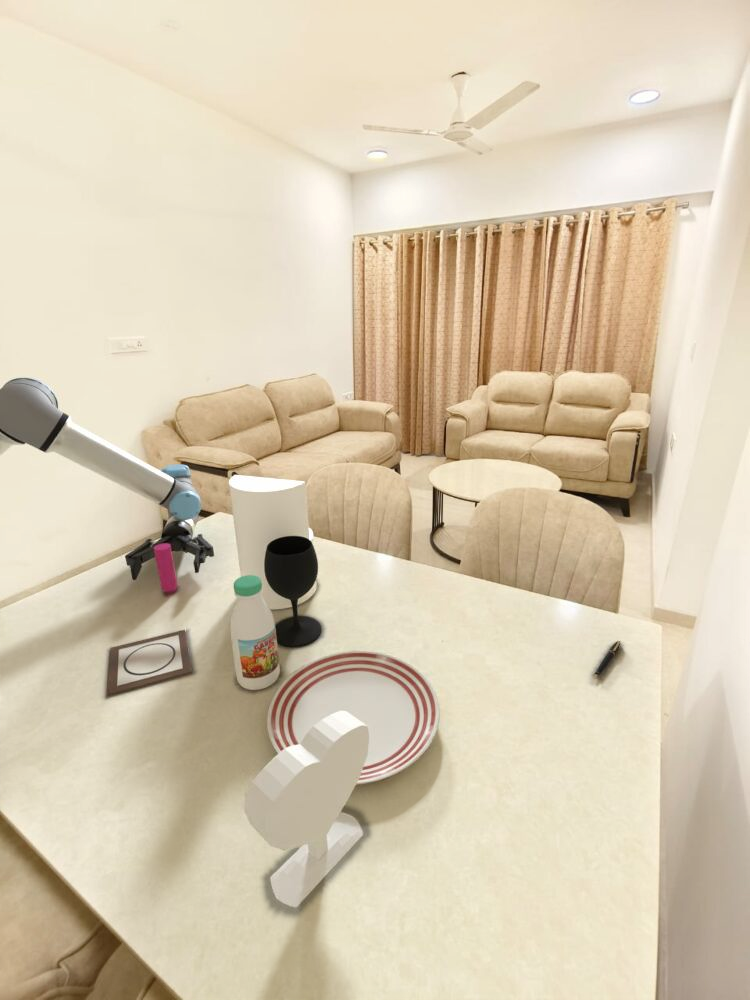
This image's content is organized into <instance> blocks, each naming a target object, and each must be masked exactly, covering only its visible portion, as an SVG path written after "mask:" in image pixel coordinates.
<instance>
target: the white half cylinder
mask: <svg viewBox="0 0 750 1000" xmlns="http://www.w3.org/2000/svg"><path fill="white" fill-rule="evenodd" d="M228 486H229V494H230V502H231V511H232V519H233V526H234V533H235V534H234V535H235V541H236V548H237V550H236V551H237V557H238V566H239V572H240V573H239V575H240V577H242V576H247V575H254V576H257V577H259V578H260V579H261V582H262V593H261V594H262V597H263V599H264V601H265V602H266V604H267V605H268V607H269V608H270V610H283V609H288V608H292V604H291V601H290V600H289V599H286V598H284V597H281V596H280V595H278V594H277V593H275V592H274V591H273V590H272V588H271V587H270V586H269V584H268V582H267V580H266V577H265V571H264V560H265V553H266V549H267V545H268V544H269V543H270V542H271V541H273V540H275V539H277V538H281V537H285V536H301V537H305V538H308V539H309V540H311V542H312V544H313V546H314V547H315V542H314V532H313V530H312V528H310V526H309V510H308V508H309V507H308V495H307V481H304V480H293V479H283V478H273V477H262V476H254V475H243V474H233V475H232V476H231V477H230V478H229V480H228ZM316 591H317V580H316V581H315V583H314V585H313V587H312V588H311V589H310V590H309V591H308V592H307V593H306V594H305V595H304V596H302V597H301V598H299V599H298V603H297V606H298V605H301V604H303V603H304V602H306V601H308V600H309V599H311V597H313V596H314V595H315V593H316Z"/></svg>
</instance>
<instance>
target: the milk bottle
mask: <svg viewBox="0 0 750 1000" xmlns="http://www.w3.org/2000/svg"><path fill="white" fill-rule="evenodd" d="M233 592H234V596H235V597H236V599H235V601H236V602H235V605H234V608H233V611H232V613H231V616H230V623H229V629H230V639H231V648H232V654H233V655H232V656H233V661H234V668H235V676H236V680H237V681H236V682H238V684H239V685H240V686H241V687H242V688H244V689H245V690H249V691H258V690H263V689H266V688H268V687H271V686H272V685H273V684H274V683H275V682H276V681H277V680H278V678H279V676H280V671H281V670H280V669H281V667H280V657H279V648H278V647H279V646H278V644H277V637H276V629H275V625H276V622H275V617H274V615H273V611H272V609H270V608H269V607H268V605H267V604H266V602H265V601H264V599H263V597H262V594H261V593H262V582H261V579H260V578H259V577H257V576H254V575H247V576H242V577H241V576H240V577H238V578H237V579H235V580H234V581H233Z"/></svg>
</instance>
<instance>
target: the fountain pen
mask: <svg viewBox="0 0 750 1000" xmlns="http://www.w3.org/2000/svg"><path fill="white" fill-rule="evenodd" d="M621 642H622V641H621V640H617V641H615V643H614V644H613V645H612V646H611V647H610V648H609V649H608V651H607V653H606V655H605V656H604V658H603V659H602V661H601V662H600V664H599V666H598V667H597V669H596V671H595V672H594V675H593V680H595V679H597V678H599V677H600V676H601V674H602V673H603V672H604V670H605V669H606V668H607V666H608V665H609V663H610V662H611V661H612V659H613V658H614V657H615V655H616V654H617V652H618V650H619V649H620V645H621Z"/></svg>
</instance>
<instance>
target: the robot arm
mask: <svg viewBox="0 0 750 1000" xmlns="http://www.w3.org/2000/svg"><path fill="white" fill-rule="evenodd" d="M25 444H27V445H29V446H31V447H33V448H35V449H37V450H39V451H41V452H43V453H45V454H47V453H48V454H49V453H56V454H58V455H60V456H61V457H63V458H66V459H68V460H69V461H72V462H73V463H76V464H77V465H79V466H81V467H83V468H85V469H88V470H89V471H91V472H93V473H95V474H97V475H99V476H101V477H102V478H103V477H104V478H105V479H107V480H110V481H112V482H113V483H115V484H117V485H119V486H122V487H123V488H125V489H127V490H129V491H131V492H133V493H135V494H137V495H138V496H141V497H143V498H145V499H147V500H149V501H151V502H153V503H155V504H157V505H159V506H161V507H162V508H165V509H166V510H167V515H168V518H167V521H166V523H165V526H164V527H163V530H162V531H161V536H160V538H159V539H158V540H157V541H153V539H152V538H147V539H146V540H145V541H144V542H143V543H142V544H140V545H139V546H138V547H136V548H134V549H133V550H131V551H130V552H128V553H126V554H125V555H124V558H125V563H126V566H127V567H128V566H129V568H130V573H131V578H132V581H136V580H137V579H138V577H139V575H140V572H141V571H142V568H143V564H144V563H146V562H148V561H150V560H152V559H155V553H154V547H155V546H156V545H158V544H162V543H168V544H170V545H171V551H172V553H173V552H183V553H185V554H191V555H193V556H194V558H193V559H194V560H193V568H194V574H198V573H199V572H200V569H201V564H204V563H206V559H207V558H208V557H209V558H212V557H213V558H214V557H215V552H214V546H213V545H212V544H211V543H210V542H208V541H207V540H206V539H205V538H204V536H203V534H202V533H198V534H197V536H195V537H194V533H195V529H196V525H197V523H198V521H199V514H200V512H201V510H202V501H201V497H200V494H198V492H197V490H196V488H195V486H194V484H193V481H192V474H191V470H190V467H189V466H188V465H186V464H180V463H178V464H170V465H167V466H164V467H163V468H162V469H161V470H160V469H159V468H156V467H154V466H152V465H150V464H148V463H147V462H145V461H144V460H142V459H139V458H138V457H136V456H133V455H132V454H130V453H129V452H127V451H125V450H123V449H121V448H120V447H118V446H116V445H113V444H112V443H111V442H108V441H106V440H104V439H103V438H101V437H99V436H97V435H95V433H92V432H90V431H89V430H86V429H85V428H83V427H81V426H79V425H77V424H75V423H74V422H73V419H72V417H71V416H70V415H69V414H67V413H65V412H63V411H61V410H60V409H59V402H58V399H57V396H56V394H55V393H54V391H53V390H52V389H51V388H50V387H49V386H48V385H47V384H46V383H44V382H42V381H40V380H38V379H35V378H32V377H31V378H30V377H16V378H12V379H10V380H8V381H7V382H6V383H4V384H3V386H2V387H1V388H0V457H1V456H2V455H4V453H5V452H7V451H8V450H9V449H10V448H11V447H12V446H24V445H25Z"/></svg>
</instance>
